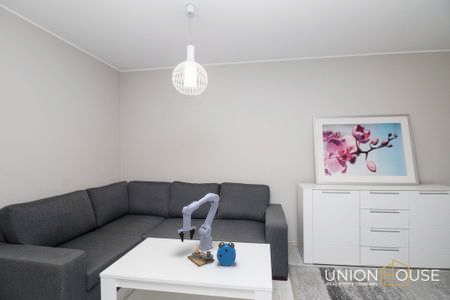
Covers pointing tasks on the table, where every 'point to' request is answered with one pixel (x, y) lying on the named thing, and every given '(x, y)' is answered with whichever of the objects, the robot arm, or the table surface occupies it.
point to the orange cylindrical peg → (197, 250)
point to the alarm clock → (226, 253)
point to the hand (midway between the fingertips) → (186, 240)
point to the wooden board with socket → (201, 258)
